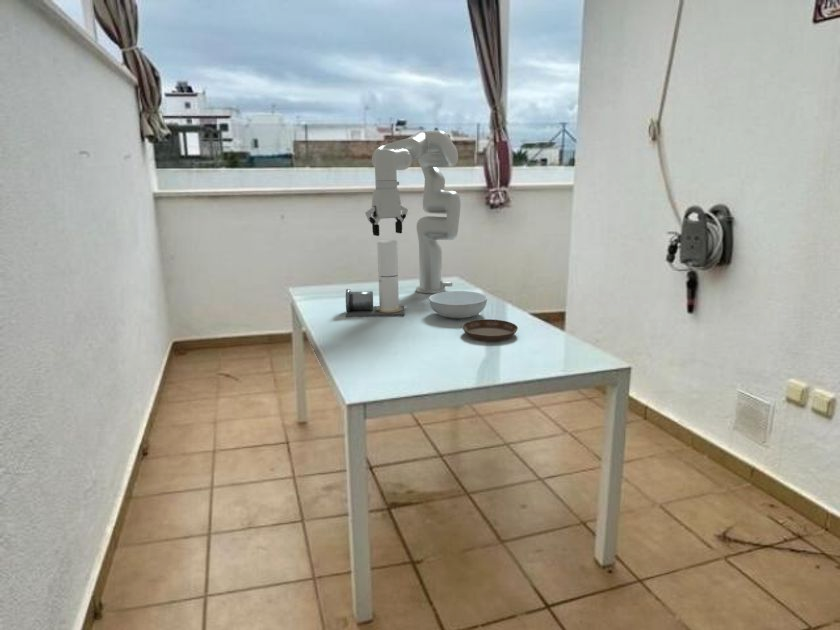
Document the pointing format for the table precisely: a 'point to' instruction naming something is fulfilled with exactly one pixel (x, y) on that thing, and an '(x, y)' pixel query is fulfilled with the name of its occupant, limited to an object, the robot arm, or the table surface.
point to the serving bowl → (458, 303)
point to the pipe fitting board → (373, 313)
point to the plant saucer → (489, 330)
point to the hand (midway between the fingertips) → (387, 234)
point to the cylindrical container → (388, 275)
